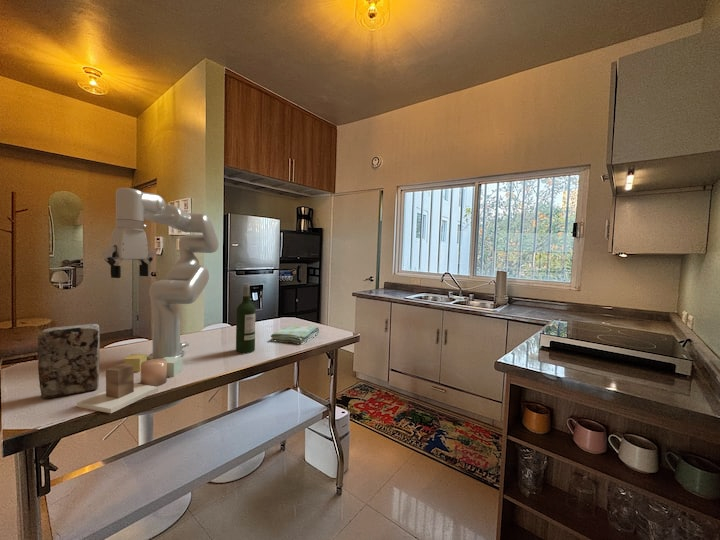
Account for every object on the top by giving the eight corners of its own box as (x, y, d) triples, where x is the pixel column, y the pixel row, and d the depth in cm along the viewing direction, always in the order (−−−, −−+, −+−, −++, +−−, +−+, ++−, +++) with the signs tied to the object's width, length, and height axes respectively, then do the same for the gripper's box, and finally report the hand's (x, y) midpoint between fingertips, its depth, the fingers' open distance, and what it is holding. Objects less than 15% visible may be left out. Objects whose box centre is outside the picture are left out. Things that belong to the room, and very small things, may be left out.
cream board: (127, 385, 96) (127, 381, 96) (157, 390, 93) (157, 386, 93) (77, 406, 82) (77, 402, 82) (111, 413, 79) (110, 408, 79)
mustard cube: (131, 367, 111) (131, 354, 111) (146, 367, 112) (146, 353, 112) (123, 372, 106) (123, 358, 106) (139, 372, 107) (139, 358, 107)
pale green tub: (165, 370, 109) (165, 356, 109) (182, 370, 110) (182, 357, 109) (155, 377, 103) (155, 362, 103) (173, 377, 104) (173, 362, 103)
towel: (269, 342, 149) (269, 332, 149) (289, 332, 169) (290, 323, 169) (302, 346, 144) (302, 335, 144) (319, 335, 165) (319, 326, 164)
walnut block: (121, 389, 90) (121, 363, 90) (133, 391, 89) (133, 365, 89) (106, 396, 86) (105, 369, 86) (118, 398, 85) (118, 370, 85)
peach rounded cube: (154, 377, 102) (154, 357, 102) (171, 380, 101) (171, 359, 101) (135, 386, 96) (135, 364, 95) (152, 389, 94) (152, 367, 94)
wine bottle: (250, 354, 129) (251, 285, 128) (232, 353, 130) (233, 284, 128) (257, 348, 137) (258, 283, 136) (240, 347, 137) (241, 282, 136)
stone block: (100, 382, 97) (99, 321, 96) (100, 390, 92) (99, 326, 91) (40, 394, 88) (39, 327, 88) (37, 403, 83) (36, 332, 82)
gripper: (145, 228, 110) (145, 275, 111) (93, 223, 93) (94, 278, 94) (161, 228, 108) (161, 276, 109) (112, 223, 91) (112, 279, 92)
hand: (130, 276), depth 101 cm, fingers open, 9 cm apart
